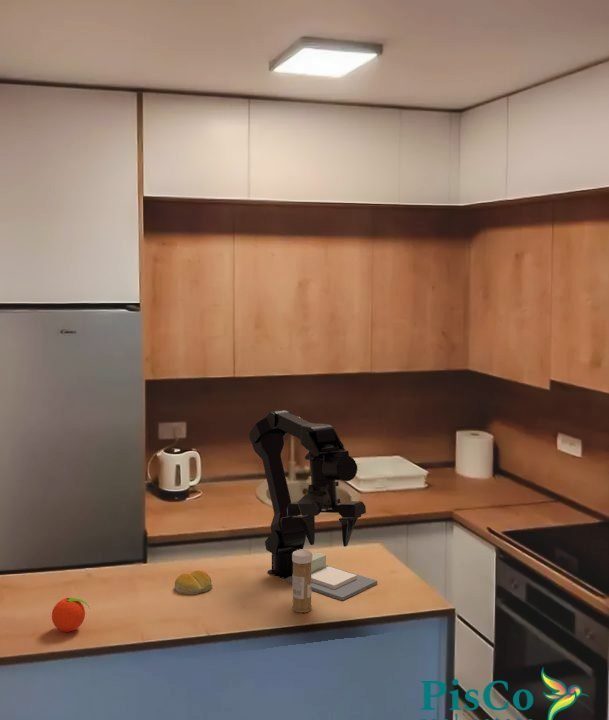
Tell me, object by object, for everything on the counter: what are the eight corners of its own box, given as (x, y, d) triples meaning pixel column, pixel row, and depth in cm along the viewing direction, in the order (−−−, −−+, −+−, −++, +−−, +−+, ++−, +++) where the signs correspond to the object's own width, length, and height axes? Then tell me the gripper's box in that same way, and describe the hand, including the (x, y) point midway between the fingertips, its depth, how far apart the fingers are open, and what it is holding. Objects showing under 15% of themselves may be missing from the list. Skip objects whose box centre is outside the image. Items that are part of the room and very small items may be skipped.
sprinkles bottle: (315, 610, 184) (316, 553, 183) (298, 615, 182) (299, 557, 180) (304, 603, 188) (304, 547, 187) (288, 608, 186) (288, 551, 184)
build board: (285, 581, 202) (285, 562, 201) (321, 566, 212) (321, 548, 212) (342, 600, 190) (342, 581, 189) (377, 583, 200) (377, 565, 200)
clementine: (92, 621, 178) (91, 590, 177) (89, 635, 171) (88, 603, 170) (54, 624, 176) (53, 592, 176) (49, 638, 169) (48, 605, 169)
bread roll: (169, 586, 198) (169, 571, 198) (203, 580, 203) (203, 564, 202) (182, 598, 191) (182, 582, 191) (217, 591, 196) (217, 575, 195)
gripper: (271, 484, 188) (276, 551, 188) (339, 483, 178) (345, 555, 177) (297, 477, 198) (302, 541, 197) (364, 476, 187) (369, 544, 187)
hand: (328, 545), depth 189 cm, fingers open, 9 cm apart
